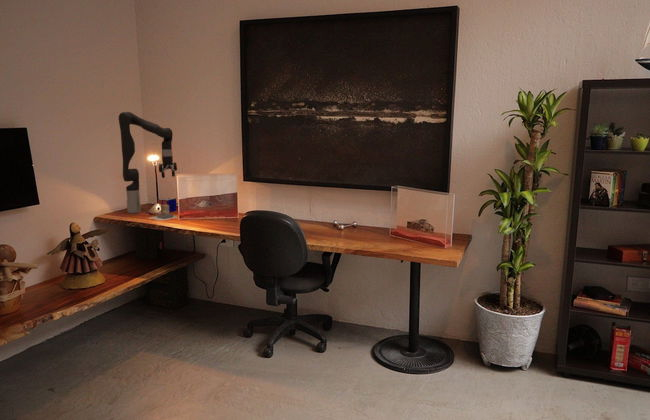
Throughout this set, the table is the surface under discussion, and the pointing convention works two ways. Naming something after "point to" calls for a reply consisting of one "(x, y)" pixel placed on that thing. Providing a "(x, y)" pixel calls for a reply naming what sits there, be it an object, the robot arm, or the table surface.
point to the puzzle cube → (169, 203)
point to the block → (165, 209)
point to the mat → (161, 218)
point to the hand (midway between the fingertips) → (168, 177)
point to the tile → (164, 216)
